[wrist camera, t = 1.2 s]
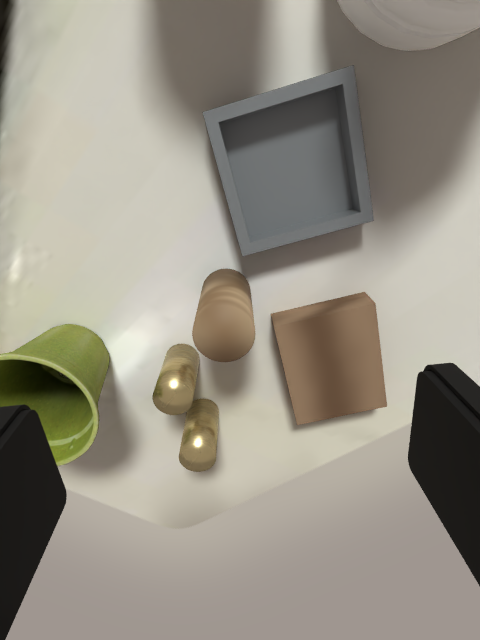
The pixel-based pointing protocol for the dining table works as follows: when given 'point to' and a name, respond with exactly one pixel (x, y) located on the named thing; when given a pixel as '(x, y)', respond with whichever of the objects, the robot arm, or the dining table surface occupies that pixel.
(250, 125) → the tray
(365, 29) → the honey pot
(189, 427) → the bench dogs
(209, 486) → the dining table surface
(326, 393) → the brown wooden brick
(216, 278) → the dowel
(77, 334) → the plant pot
